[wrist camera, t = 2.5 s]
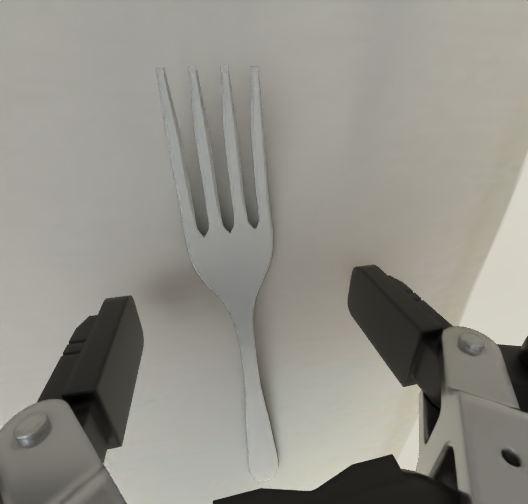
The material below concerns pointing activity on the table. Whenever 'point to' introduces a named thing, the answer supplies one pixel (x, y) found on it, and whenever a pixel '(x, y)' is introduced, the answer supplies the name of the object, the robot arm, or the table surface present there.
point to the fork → (230, 240)
